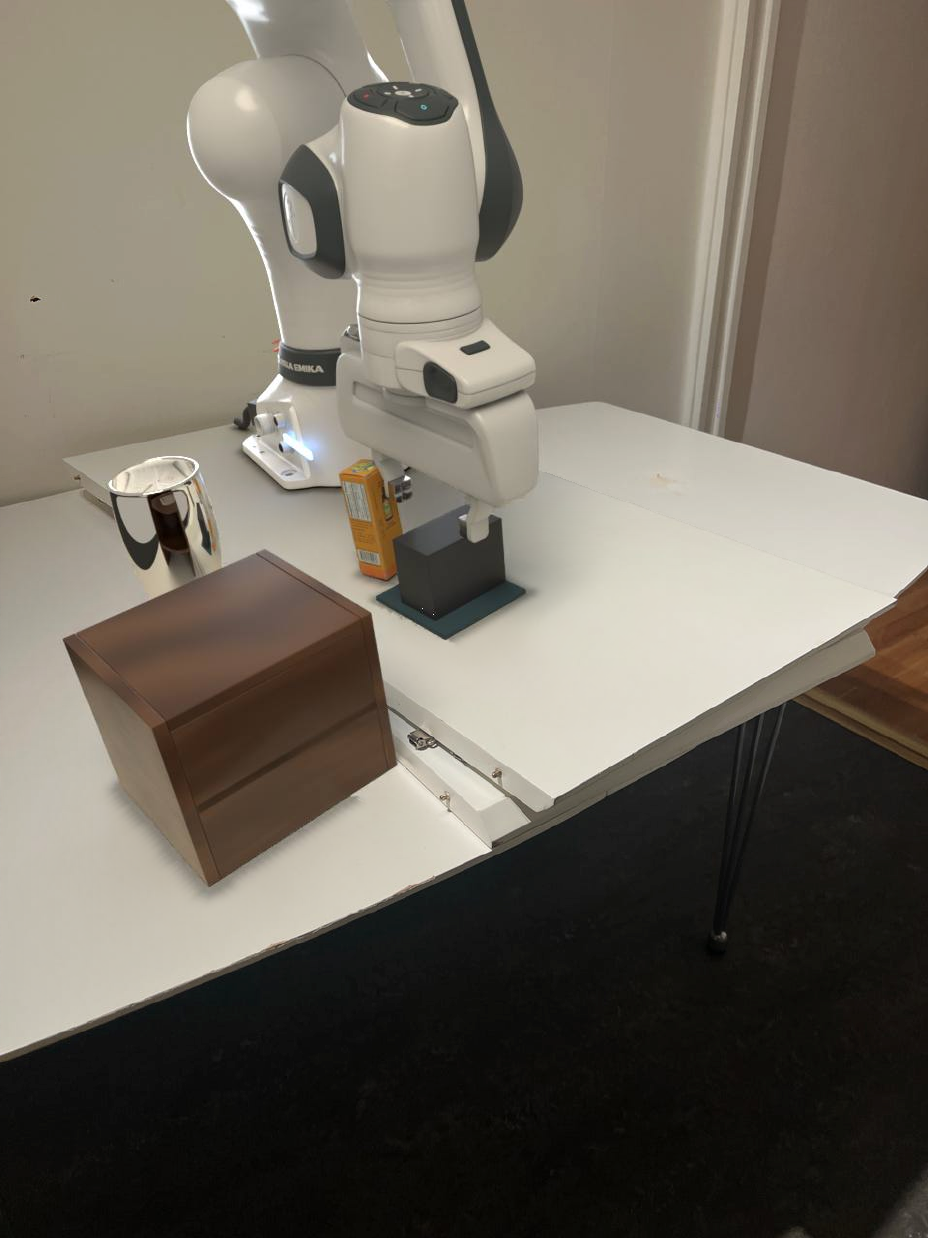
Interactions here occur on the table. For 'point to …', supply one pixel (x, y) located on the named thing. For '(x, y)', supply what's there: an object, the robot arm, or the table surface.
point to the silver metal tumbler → (165, 522)
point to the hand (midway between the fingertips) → (435, 517)
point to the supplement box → (371, 518)
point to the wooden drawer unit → (238, 707)
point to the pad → (460, 616)
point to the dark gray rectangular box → (447, 564)
